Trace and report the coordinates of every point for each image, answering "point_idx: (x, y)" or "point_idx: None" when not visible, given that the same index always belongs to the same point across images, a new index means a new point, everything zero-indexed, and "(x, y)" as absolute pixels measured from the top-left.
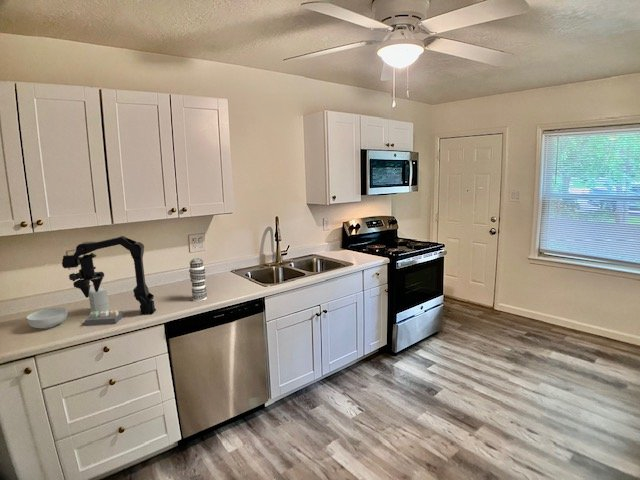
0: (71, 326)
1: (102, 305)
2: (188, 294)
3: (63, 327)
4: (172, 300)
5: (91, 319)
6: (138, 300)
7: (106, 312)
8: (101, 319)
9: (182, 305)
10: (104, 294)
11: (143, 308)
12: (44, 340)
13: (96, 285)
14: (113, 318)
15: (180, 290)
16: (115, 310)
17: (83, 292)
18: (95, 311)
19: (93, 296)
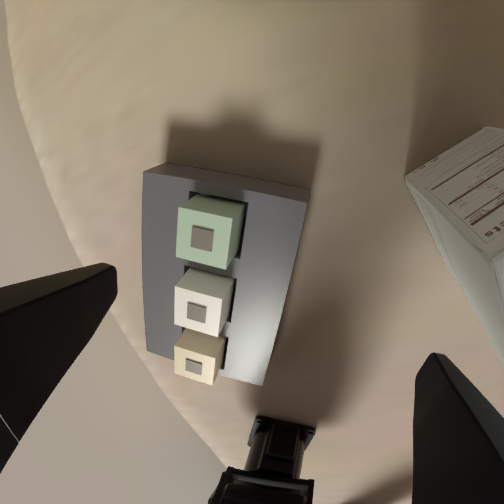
0: (183, 62)
1: (444, 251)
2: None
3: (182, 15)
4: (393, 478)
5: (150, 219)
6: (220, 484)
7: (187, 326)
8: (144, 284)
9: None
10: (494, 341)
11: (253, 449)
12: (41, 35)
13: (446, 478)
14: (146, 344)
15: None
16: (206, 373)
17: (5, 299)
18: (227, 244)
19: (468, 243)
